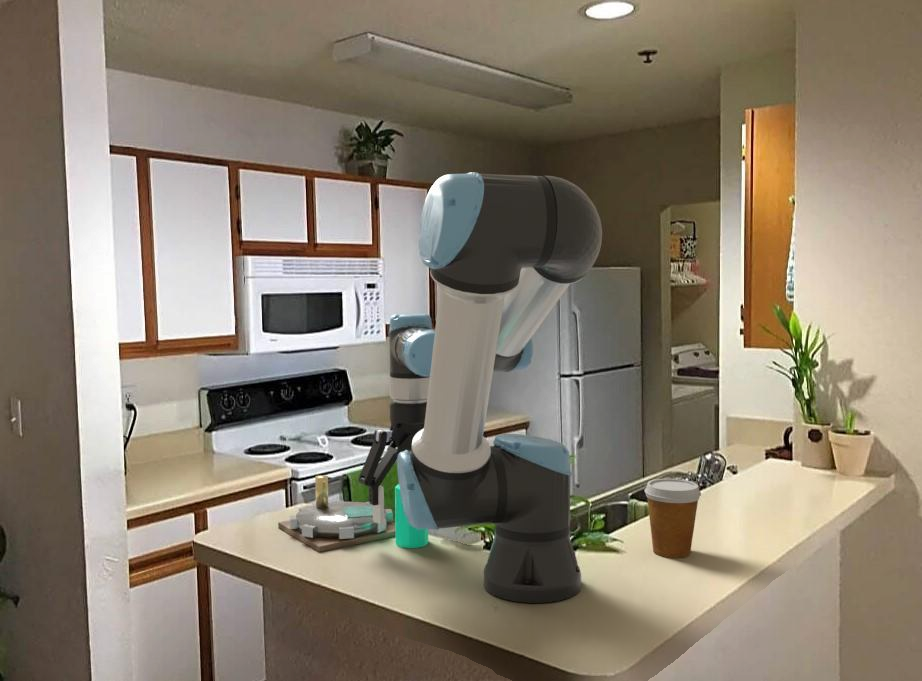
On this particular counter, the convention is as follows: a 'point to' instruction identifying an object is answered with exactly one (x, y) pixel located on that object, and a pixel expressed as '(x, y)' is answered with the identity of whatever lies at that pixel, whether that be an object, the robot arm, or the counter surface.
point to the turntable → (336, 516)
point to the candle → (407, 527)
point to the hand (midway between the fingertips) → (411, 515)
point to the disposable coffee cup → (672, 515)
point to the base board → (333, 543)
